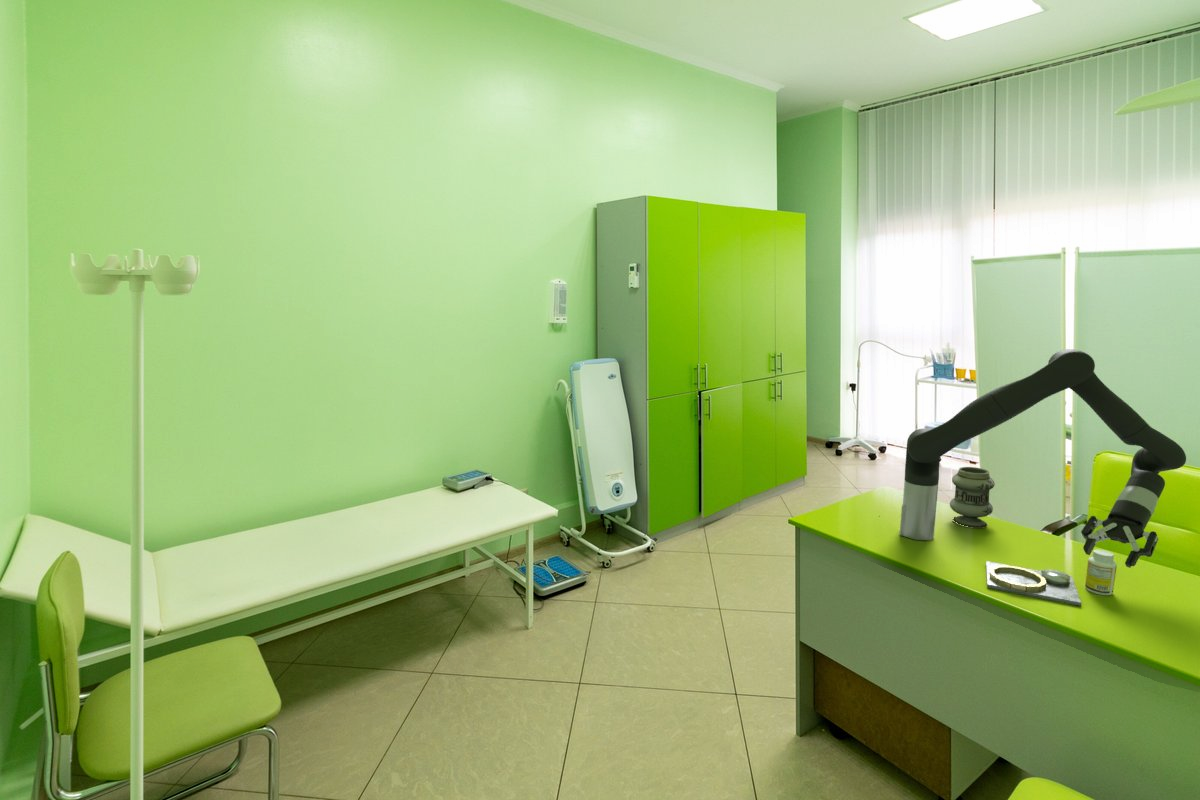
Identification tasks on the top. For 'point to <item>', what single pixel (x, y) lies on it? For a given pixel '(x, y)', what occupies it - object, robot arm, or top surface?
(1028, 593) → the carrier plate
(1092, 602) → the top surface
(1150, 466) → the robot arm
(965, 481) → the apothecary jar
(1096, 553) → the supplement bottle
